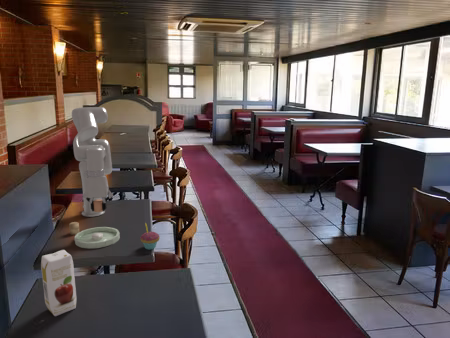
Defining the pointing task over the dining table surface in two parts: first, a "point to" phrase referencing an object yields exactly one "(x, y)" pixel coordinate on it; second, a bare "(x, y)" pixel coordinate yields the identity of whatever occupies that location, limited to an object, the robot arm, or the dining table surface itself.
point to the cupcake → (149, 239)
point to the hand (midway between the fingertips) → (98, 209)
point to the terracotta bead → (98, 205)
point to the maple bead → (74, 228)
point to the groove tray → (97, 237)
